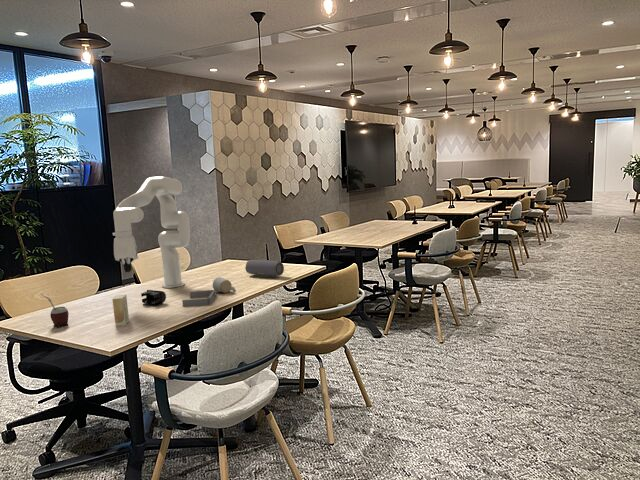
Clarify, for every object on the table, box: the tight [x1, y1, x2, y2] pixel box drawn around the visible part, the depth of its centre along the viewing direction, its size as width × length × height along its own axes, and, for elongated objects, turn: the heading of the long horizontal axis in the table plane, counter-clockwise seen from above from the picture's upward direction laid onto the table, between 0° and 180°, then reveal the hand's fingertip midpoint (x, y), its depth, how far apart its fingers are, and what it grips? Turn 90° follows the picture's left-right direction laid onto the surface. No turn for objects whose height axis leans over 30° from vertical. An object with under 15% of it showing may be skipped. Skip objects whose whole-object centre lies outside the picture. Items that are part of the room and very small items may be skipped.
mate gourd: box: [43, 295, 70, 329], centre depth 222 cm, size 8×8×15 cm
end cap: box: [140, 289, 167, 307], centre depth 253 cm, size 10×7×7 cm
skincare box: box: [112, 294, 130, 327], centre depth 220 cm, size 6×4×12 cm
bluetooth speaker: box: [244, 259, 285, 278], centre depth 303 cm, size 23×9×10 cm, turn 58°
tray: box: [181, 289, 217, 307], centre depth 254 cm, size 18×13×3 cm
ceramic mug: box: [212, 276, 236, 294], centre depth 270 cm, size 11×8×8 cm
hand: (128, 271), depth 250 cm, fingers closed
